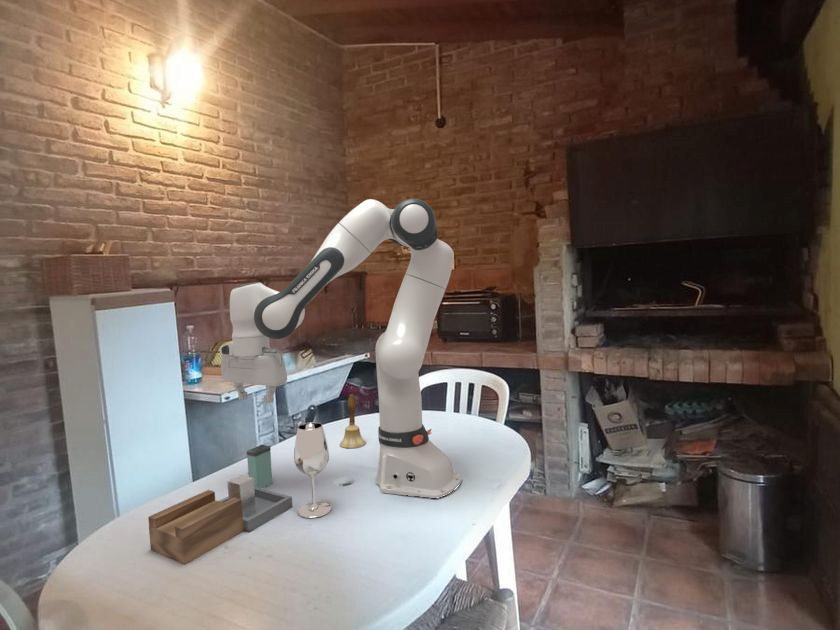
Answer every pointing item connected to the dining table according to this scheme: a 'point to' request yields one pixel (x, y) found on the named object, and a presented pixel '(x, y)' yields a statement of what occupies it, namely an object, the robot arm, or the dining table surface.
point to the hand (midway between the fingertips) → (256, 400)
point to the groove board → (195, 526)
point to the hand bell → (352, 428)
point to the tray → (265, 508)
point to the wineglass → (311, 463)
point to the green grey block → (260, 465)
